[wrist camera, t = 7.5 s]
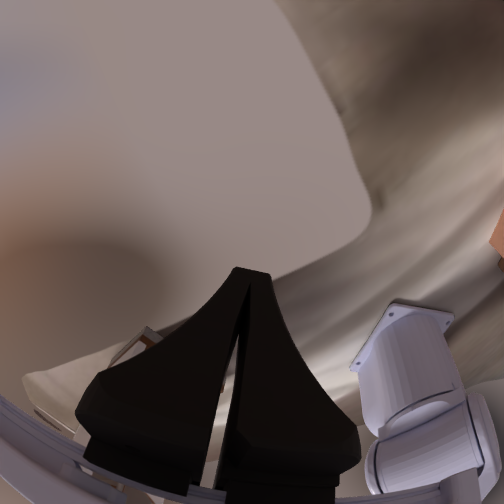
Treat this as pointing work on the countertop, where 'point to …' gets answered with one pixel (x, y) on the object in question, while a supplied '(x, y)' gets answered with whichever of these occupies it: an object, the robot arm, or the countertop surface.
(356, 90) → the countertop surface
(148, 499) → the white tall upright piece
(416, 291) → the countertop surface
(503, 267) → the tan wooden box
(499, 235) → the terracotta brick
